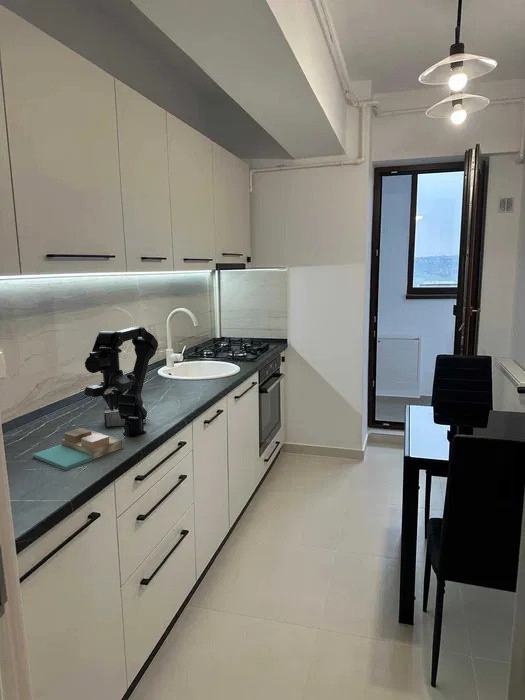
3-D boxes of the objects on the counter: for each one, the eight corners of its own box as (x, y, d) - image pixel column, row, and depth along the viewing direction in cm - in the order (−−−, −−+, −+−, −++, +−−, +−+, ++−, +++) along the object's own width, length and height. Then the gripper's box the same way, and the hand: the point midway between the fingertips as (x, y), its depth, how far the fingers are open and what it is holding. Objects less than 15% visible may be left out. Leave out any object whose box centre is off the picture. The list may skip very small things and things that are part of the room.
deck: (91, 437, 176) (91, 430, 176) (122, 447, 166) (122, 439, 166) (62, 447, 167) (61, 439, 166) (93, 459, 156) (92, 450, 156)
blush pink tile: (97, 439, 166) (97, 432, 166) (109, 443, 162) (108, 436, 162) (81, 445, 161) (80, 438, 160) (93, 449, 157) (92, 442, 157)
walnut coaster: (81, 434, 172) (80, 427, 171) (91, 437, 168) (91, 431, 168) (64, 439, 166) (64, 432, 166) (75, 443, 163) (74, 436, 162)
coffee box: (144, 416, 201) (104, 421, 196) (143, 402, 200) (103, 406, 194) (146, 423, 192) (104, 428, 187) (145, 408, 191) (103, 412, 186)
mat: (60, 447, 167) (60, 444, 167) (93, 459, 156) (92, 456, 156) (33, 457, 159) (33, 453, 159) (65, 470, 148) (65, 466, 148)
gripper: (102, 374, 152) (105, 421, 154) (147, 364, 167) (149, 407, 169) (81, 370, 158) (85, 415, 161) (127, 361, 173) (129, 402, 176)
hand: (114, 410), depth 167 cm, fingers closed
